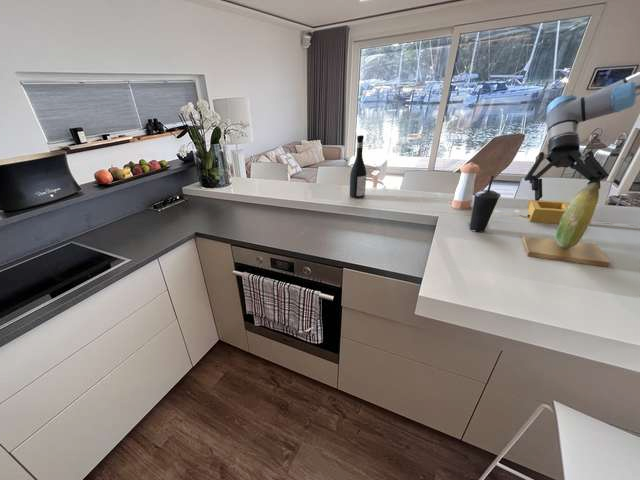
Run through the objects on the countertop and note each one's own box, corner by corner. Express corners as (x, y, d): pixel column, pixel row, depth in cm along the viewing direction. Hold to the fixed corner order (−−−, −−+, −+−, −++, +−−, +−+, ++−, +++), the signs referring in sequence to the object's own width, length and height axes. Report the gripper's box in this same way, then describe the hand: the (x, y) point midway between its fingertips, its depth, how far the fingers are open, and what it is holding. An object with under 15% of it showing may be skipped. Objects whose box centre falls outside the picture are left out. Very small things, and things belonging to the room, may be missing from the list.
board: (594, 248, 89) (596, 244, 88) (607, 267, 81) (610, 262, 80) (522, 240, 98) (523, 236, 97) (527, 256, 89) (528, 251, 88)
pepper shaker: (448, 204, 131) (457, 161, 122) (463, 203, 131) (474, 159, 122) (457, 210, 125) (468, 164, 116) (473, 208, 125) (486, 163, 116)
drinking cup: (493, 233, 103) (511, 178, 93) (469, 233, 105) (485, 179, 95) (484, 225, 110) (500, 172, 100) (462, 225, 111) (475, 173, 101)
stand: (562, 214, 113) (567, 202, 110) (569, 225, 104) (575, 212, 102) (525, 211, 118) (530, 199, 116) (529, 221, 110) (534, 208, 107)
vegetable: (580, 253, 85) (615, 186, 75) (554, 251, 87) (584, 186, 77) (570, 244, 90) (601, 180, 80) (546, 243, 92) (573, 180, 82)
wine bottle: (367, 195, 152) (372, 134, 137) (359, 199, 148) (363, 137, 133) (354, 193, 158) (357, 134, 143) (346, 197, 153) (348, 136, 138)
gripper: (603, 146, 94) (608, 205, 89) (512, 149, 102) (512, 203, 98) (622, 131, 87) (627, 194, 82) (522, 135, 95) (522, 192, 91)
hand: (565, 199), depth 90 cm, fingers open, 13 cm apart
